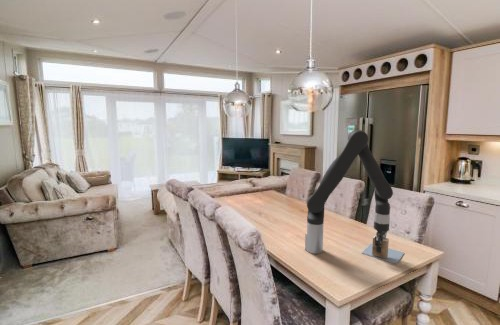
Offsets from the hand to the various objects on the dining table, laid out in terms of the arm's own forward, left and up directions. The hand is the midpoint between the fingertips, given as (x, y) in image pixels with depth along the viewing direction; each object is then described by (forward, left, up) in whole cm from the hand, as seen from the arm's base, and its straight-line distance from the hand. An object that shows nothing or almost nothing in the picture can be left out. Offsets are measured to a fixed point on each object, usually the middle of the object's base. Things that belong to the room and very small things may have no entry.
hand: (379, 250), depth 145 cm
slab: (0, 0, -3) cm, 3 cm away
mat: (0, +6, -4) cm, 7 cm away
